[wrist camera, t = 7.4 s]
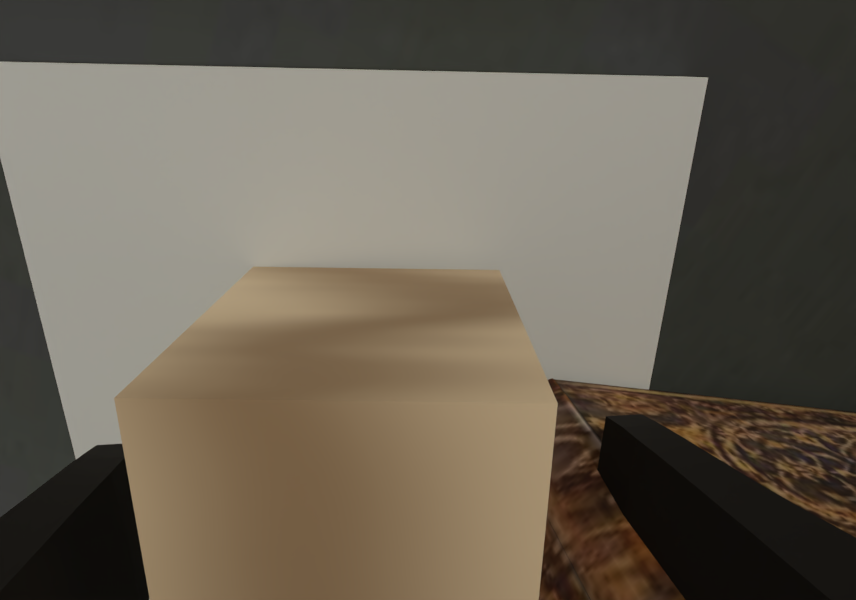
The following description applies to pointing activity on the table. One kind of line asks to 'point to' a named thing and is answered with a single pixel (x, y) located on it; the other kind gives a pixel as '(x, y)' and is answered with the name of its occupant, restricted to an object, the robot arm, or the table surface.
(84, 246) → the pad
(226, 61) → the table surface
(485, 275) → the birch block
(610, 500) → the book
